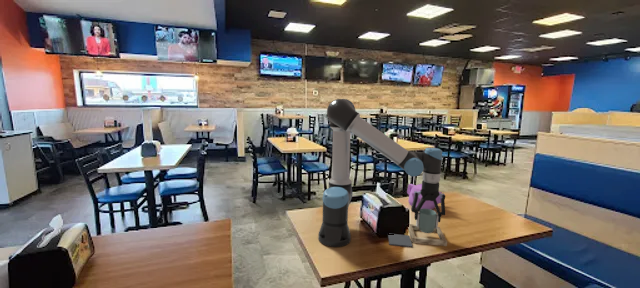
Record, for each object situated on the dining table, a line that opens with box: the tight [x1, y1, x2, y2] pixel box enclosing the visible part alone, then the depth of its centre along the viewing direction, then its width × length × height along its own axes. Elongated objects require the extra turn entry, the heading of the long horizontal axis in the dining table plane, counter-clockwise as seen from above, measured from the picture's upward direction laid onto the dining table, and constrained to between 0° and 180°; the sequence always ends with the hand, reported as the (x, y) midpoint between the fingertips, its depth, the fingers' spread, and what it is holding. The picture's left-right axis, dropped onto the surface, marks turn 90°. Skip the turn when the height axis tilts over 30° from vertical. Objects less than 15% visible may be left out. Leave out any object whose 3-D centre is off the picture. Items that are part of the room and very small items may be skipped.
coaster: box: [387, 233, 413, 248], centre depth 129 cm, size 10×10×1 cm
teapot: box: [406, 183, 443, 210], centre depth 170 cm, size 19×18×15 cm
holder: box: [407, 223, 448, 247], centre depth 134 cm, size 15×15×2 cm
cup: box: [419, 209, 438, 234], centre depth 133 cm, size 8×8×10 cm
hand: (426, 226), depth 133 cm, fingers closed on cup, 8 cm apart
